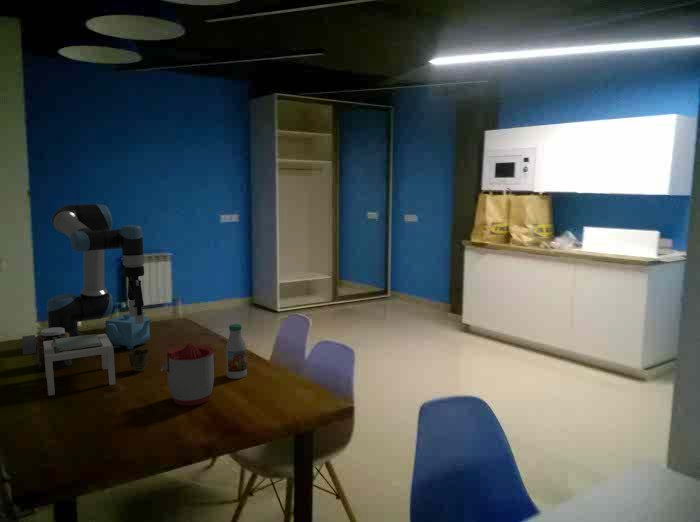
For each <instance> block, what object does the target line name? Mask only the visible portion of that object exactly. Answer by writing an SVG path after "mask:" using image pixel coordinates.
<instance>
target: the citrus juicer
mask: <svg viewBox="0 0 700 522" xmlns="http://www.w3.org/2000/svg"><path fill="white" fill-rule="evenodd" d="M214 353H215V349H214V348H212V347H210V346H207V345H197V344H196V345H195V344H193V343H187V344H186V345H184V346H178V347H175V348H172V349H170V350H168V351H167V355H166V357H167V358H166V362H164V363H162V365H161V368H160V371H161V372H164V371H166V372H167V384H168V389H169V393H170V395H171V398H172V400H173V402H174V404H175V405H179V406H180V407H184V406H188V407H189V406H190V407H191V406H197V405H201V404H205V403H206V402H207V401H210V398H211V395H212V392H213V387H214V382H215V369H214V368H215V366H214V364H215V363H214V362H215V361H214Z"/></svg>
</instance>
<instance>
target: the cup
mask: <svg viewBox="0 0 700 522" xmlns="http://www.w3.org/2000/svg"><path fill="white" fill-rule="evenodd" d="M127 354H128V359H129V364H130V366H131V367H132V368H134V372H136V373H141V372H143V371H144V370H145V367H146V366H147V364H148V361H149V350H148V349H147V348H146V349H145V348H144V349H143V350H141V349H140V348H139V349H138V348H135V349H132V350H130V351H128V352H127Z"/></svg>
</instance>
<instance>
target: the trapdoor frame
mask: <svg viewBox="0 0 700 522" xmlns="http://www.w3.org/2000/svg"><path fill="white" fill-rule="evenodd" d="M96 335H97V337H98V339H99V341H100V343H101V345H100V346H95V347H88V348H80V349H73V350H71V351H67V352H59V348H55V351H54V347H56V343H55V339H57V337H54V338H53V340H51V341H43V345H44V358H45V370H44V371H45V379H46V382H47V383H46V384H47V395H48V396H55V395H56V393H55V391H56V389H55V377H54V376H55V375H54V370H53V362H52V361H59V360H66V359H80V358H85V357H87V358H88V357H93V356H99V355H100V356H101V369H102V370H107V371H108V372H107V373H108V384H109V386H112V385H116V384H117V383H116V371H115V370H116V369H115V368H116V366H115V350H114V349H115V348H113V347H114V346H113V345H112V344H111V342H110V340H109V339H108V337H107V335H106V333H101V334H99V333H98V334H96Z"/></svg>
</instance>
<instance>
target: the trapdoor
mask: <svg viewBox="0 0 700 522" xmlns="http://www.w3.org/2000/svg"><path fill="white" fill-rule="evenodd" d="M97 335H98V334H97V333H94V334H93V333H91V334H84V335H81V336H76V337H68V338H60V339H55V343H56V348H59V351H63V350H71V351H72V350H79V349H87V348H94V347H101V343H100V341H99V339H98V337H97ZM21 342H22V345H21V346H22V355H30V354H37V340H36V334H31V335H24V336H22V339H21Z"/></svg>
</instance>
